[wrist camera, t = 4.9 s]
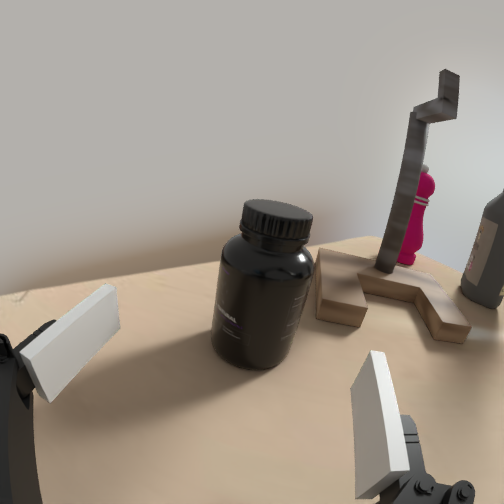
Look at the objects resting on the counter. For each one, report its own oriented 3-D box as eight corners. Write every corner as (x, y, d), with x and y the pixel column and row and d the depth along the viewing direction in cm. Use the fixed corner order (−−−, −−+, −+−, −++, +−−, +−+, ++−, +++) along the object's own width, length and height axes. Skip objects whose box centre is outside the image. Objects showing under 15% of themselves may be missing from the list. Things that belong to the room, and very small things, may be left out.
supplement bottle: (195, 352, 22) (208, 203, 17) (230, 313, 28) (249, 191, 23) (276, 384, 20) (320, 231, 15) (297, 336, 26) (331, 211, 21)
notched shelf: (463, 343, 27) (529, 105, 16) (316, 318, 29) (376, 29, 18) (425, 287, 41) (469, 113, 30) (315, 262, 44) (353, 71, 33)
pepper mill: (393, 263, 50) (420, 161, 43) (379, 249, 57) (402, 158, 49) (421, 268, 50) (448, 172, 43) (406, 254, 57) (429, 167, 50)
